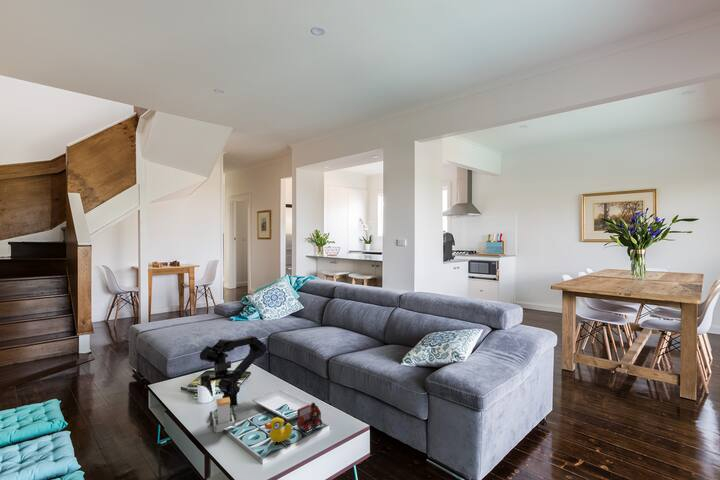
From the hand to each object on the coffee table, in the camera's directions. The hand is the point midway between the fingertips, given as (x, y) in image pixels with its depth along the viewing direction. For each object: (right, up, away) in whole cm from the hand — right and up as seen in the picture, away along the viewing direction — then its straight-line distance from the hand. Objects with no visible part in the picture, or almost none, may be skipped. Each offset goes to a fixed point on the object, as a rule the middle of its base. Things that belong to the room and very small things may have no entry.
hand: (222, 394), depth 178 cm
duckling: (+31, -12, -19) cm, 38 cm away
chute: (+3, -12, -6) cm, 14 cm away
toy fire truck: (+42, -12, -9) cm, 45 cm away
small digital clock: (+1, -12, -2) cm, 13 cm away
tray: (+26, -12, +11) cm, 31 cm away
